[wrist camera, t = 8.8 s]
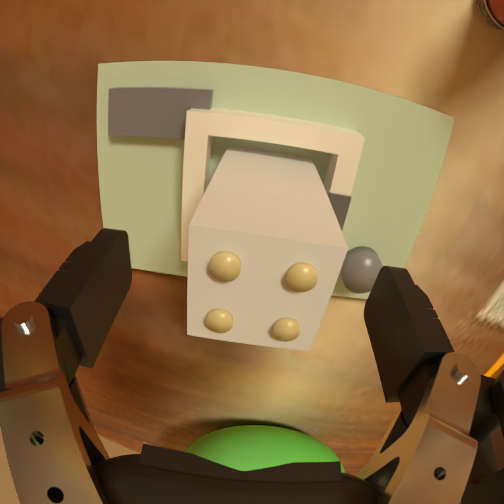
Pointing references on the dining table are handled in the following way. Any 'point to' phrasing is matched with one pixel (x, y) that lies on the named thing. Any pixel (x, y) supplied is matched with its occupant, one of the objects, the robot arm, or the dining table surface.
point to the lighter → (492, 12)
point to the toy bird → (260, 447)
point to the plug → (262, 252)
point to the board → (265, 139)
